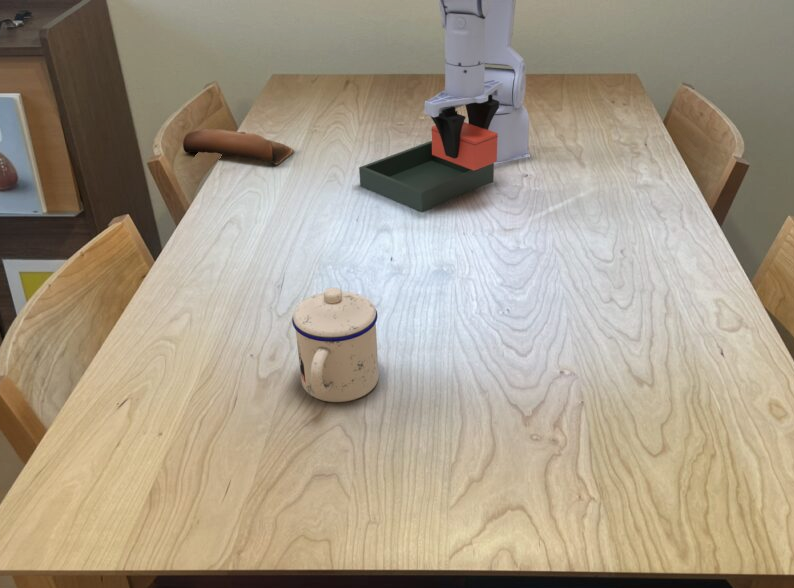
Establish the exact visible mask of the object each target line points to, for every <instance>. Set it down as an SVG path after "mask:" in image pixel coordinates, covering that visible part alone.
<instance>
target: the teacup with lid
mask: <svg viewBox="0 0 794 588" xmlns="http://www.w3.org/2000/svg"><path fill="white" fill-rule="evenodd" d="M377 321H378V311H377V309H376V307H375V305H374V304H373V302H372V301H371V300H370V299H368V298H367V297H366V296H364V295H362V294H359V293H355V292H351V291H343V290H342V289H340V288H338V287H329V288H327V289H325V290H324V292H320V293H317V294H314V295H312V296H309V297H307V298H306V299H304V300H302V301H301V302H300V303H298V304H297V307H296V308H295V309H294V312H293V315H292V319H291V324H292V327H293V328H294V329H295V336H296V338H295V339H296V346H297V353H298V354H297V355H298V361H299V362H298V363H299V370H300V378H301V379H300V380H301V385H302V387H303V389H304V390H305V392H306V393H307V394H308V395H310V396H311V397H313V398H314V399H317V400H319V401H323V402H329V403H344V402H350V401H351V402H352V401H354V400H357V399H360V398H362V397H364V396H366V395H367V394H369V393H371V391H373V390H374V388H375V387H376V385H377V384H378V381H379V375H380V374H379V356H378V339H377V324H376V323H377Z"/></svg>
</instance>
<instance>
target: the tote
mask: <svg viewBox="0 0 794 588" xmlns="http://www.w3.org/2000/svg"><path fill="white" fill-rule="evenodd" d="M494 170H495V165H494V163H492V164H490V165H487V166H485V167H482V168H480V169H477V170H475V171H474V170H471V169H468V168H466V167H463V166H460V165H458V164H455V163H453V162H450V161H447V160H445V159H442V158H439V157H437V156H434V155H432V140H429V141H426V142H424V143H422V144H418V145H415V146H412V147H410V148H407V149H405V150H403V151H399V152H397V153H394V154H392V155H389V156H386V157H384V158H380V159H377V160H375V161H373V162H370V163H367V164H364V165H361V166H359V167H358V171H359V172H358V173H359V185H360V187H362V188H364V189H366V190H368V191H371V192H372V193H375V194H377V195H379V196H383V197H384V198H386V199H389V200H391V201H393V202H395V203H399V204H401V205H404V206H405V207H408V208H410V209H412V210H415V211H417V212H420V213H425V212H427V211H429V210H431V209H434V208H437V207H439V206H440V205H443V204H446V203H448V202H450V201H453V200H455V199H458V198H460V197H462V196H464V195H466V194H468V193H471V192H474V191H476V190H478V189H480V188H482V187H485V186H487V185H490V184H492V183H494V173H495V171H494Z"/></svg>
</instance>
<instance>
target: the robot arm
mask: <svg viewBox="0 0 794 588" xmlns="http://www.w3.org/2000/svg"><path fill="white" fill-rule="evenodd" d="M438 3H439V11H440V14H441V15H440V16H441V28H442V29H444V90H442V91H440V92H439V93H438V94H436V95H434V96H433V97H431V98H429V99H428V100H425V101H424V115H426V116H427V117H428V116H429V117H430V118H431V120H432V121H433V123H434V126H435V125H436V127H437V129H438V131H439V134H440V137H441V140H442V143H443V147H444V151H445V155H446V156H449V157H451V158H458V154H459V147H460V135H461V130H462V126H463V123H464V122H465V120H466V118H467V120H468V124H471V125H474V126H477V127H480V128H483V129H486V130H489V131H492V132H495V133H498V137H497V162H495V163H494V166H497V165H501V164H505V163H509V162H514V161H518V160H523V159H530V158H531V154H529V140H530V139H529V138H530V117H529V113H528V111H527V109H526V107H525V106H524V105H523V103H524V101H525V97H526V96H525V95H526V88H527V74H526V71H527V65H526V62H525V59H524V58H523V57H522V56H521V55H520V54H519V53H518V52H517V51H516V50H514V48H513V47H512V43H513V35H514V34H513V33H514V23H515V13H516V12H515V11H516V3H517V0H438ZM486 65H493V66H506V67H511V68H504V67H503V68H502V67H490V66H486ZM463 106H464V107H465V109H466V110H465V111H466V114H467V117H466V116H465V115H462V114H459V113H458V111H457V110H456V109H458V108H460V107H463Z"/></svg>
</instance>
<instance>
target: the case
mask: <svg viewBox="0 0 794 588" xmlns="http://www.w3.org/2000/svg"><path fill="white" fill-rule="evenodd" d="M430 130H431V141H432V155H434V156H437V157H439V158H442V159H445V160H447V161H450V162H453V163H455V164H458V165H460V166H463V167H466V168H468V169H471V170H474V171H475V170H477V169H480V168H482V167H485V166H487V165H490V164H492V163H495V162H497V137H498V133H495V132H492V131H489V130H486V129H483V128H480V127H477V126H474V125H471V124H469V122H466V121H464V123H463V126H462V130H461V135H460V147H459V154H458V158H451V157H449V156H446V155H445V151H444V147H443V143H442V140H441V137H440V134H439V131H438V129H437V127H436V125H435V124H434V125H433V126H431V129H430Z"/></svg>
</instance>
